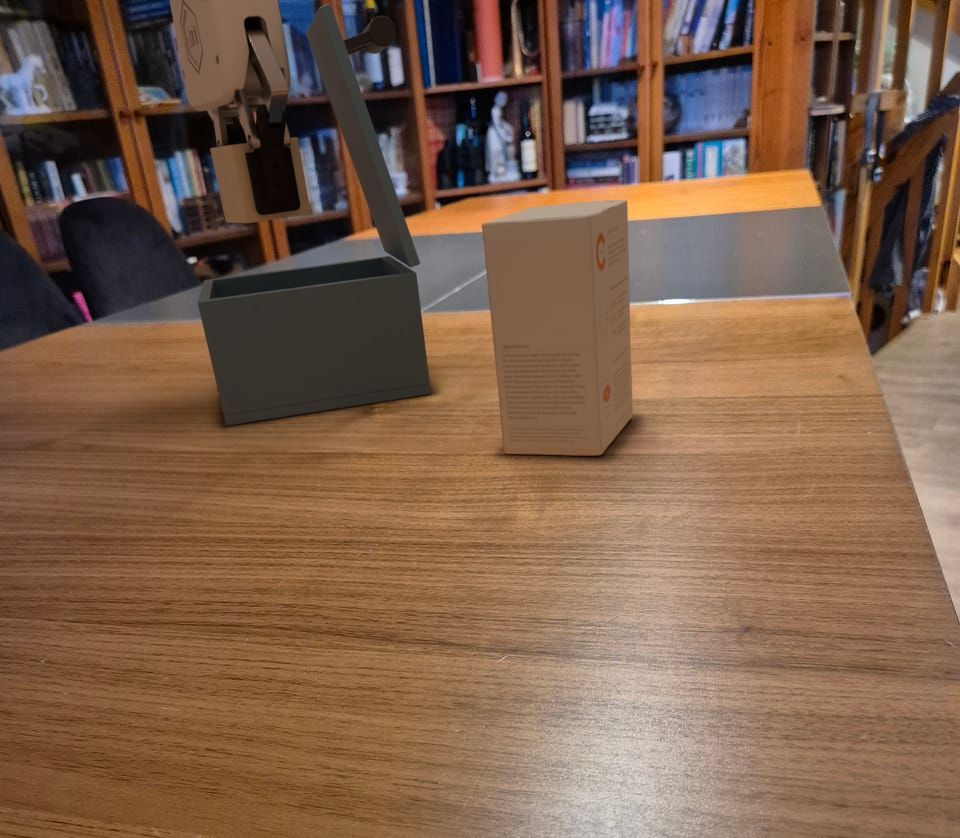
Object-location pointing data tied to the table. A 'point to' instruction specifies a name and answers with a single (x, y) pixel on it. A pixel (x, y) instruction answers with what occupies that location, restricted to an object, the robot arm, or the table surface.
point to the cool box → (314, 338)
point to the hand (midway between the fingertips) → (265, 209)
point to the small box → (561, 325)
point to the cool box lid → (361, 122)
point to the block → (239, 188)
